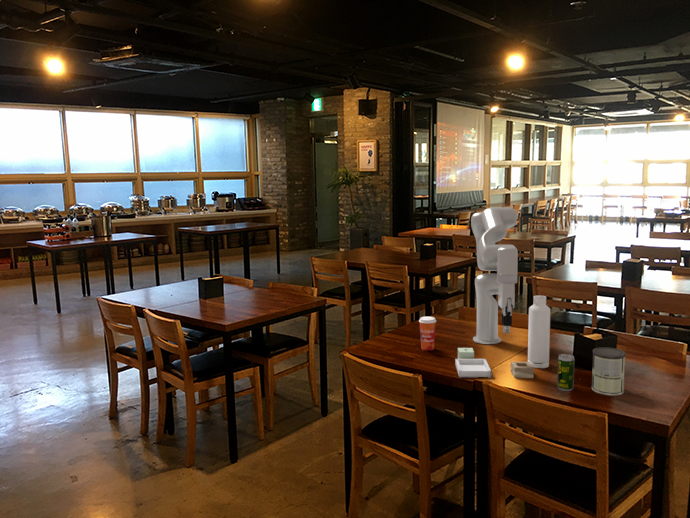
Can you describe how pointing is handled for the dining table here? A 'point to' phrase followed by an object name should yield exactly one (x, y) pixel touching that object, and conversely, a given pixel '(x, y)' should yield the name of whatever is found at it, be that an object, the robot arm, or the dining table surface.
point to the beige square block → (522, 370)
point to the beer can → (565, 372)
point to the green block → (465, 353)
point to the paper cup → (427, 332)
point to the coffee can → (608, 371)
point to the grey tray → (473, 368)
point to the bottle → (539, 333)
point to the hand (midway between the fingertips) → (506, 324)
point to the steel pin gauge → (506, 327)
